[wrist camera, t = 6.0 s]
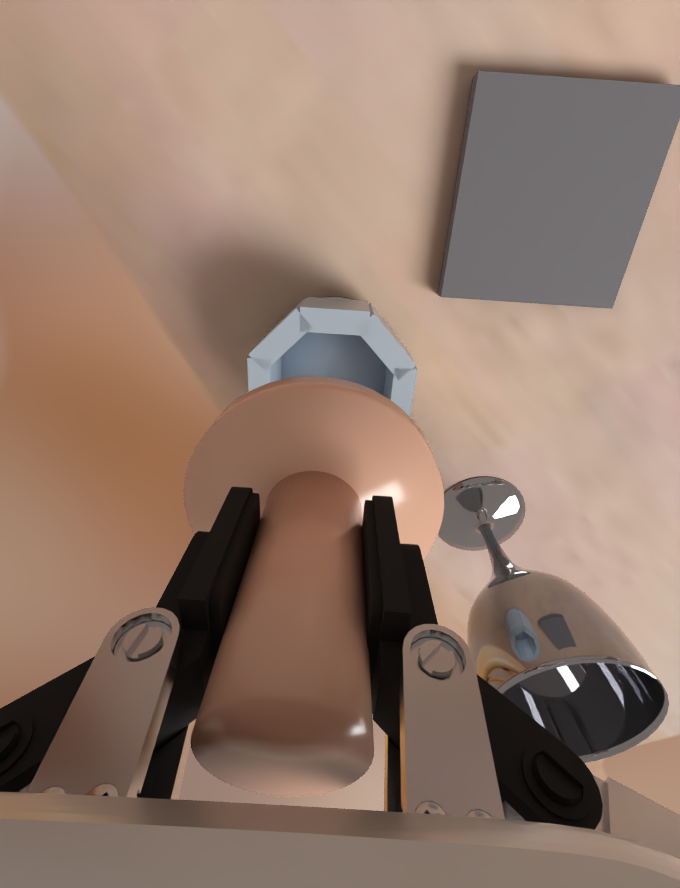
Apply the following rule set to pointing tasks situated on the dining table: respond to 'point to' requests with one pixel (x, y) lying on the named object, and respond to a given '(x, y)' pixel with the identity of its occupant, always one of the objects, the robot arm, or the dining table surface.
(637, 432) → the dining table surface
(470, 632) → the wine glass
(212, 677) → the lid
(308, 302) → the bowl
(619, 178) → the mat
